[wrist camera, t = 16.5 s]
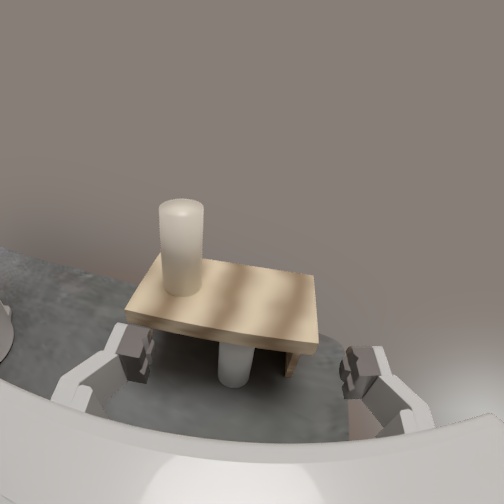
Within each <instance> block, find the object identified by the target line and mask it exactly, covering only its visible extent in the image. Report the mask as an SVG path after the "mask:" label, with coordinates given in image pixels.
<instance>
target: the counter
mask: <svg viewBox="0 0 504 504" xmlns="http://www.w3.org/2000/svg"><path fill="white" fill-rule="evenodd" d="M125 314H126V318H127V322H129V323H133V324H137V325H141V326H146V327H150V328H154V329H159V330H163V331H168V332H172V333H177V334H182V335H186V336H191V337H196V338H202V339H207V340H212V341H218V342H223V343H229V344H235V345H241V346H248V347H254V348H261V349H268V350H275V351H283V352H286V364H285V377H292V375H293V372H294V369H295V367H296V364H297V361H298V359H299V356H300V354H308V355H314V353H315V351H316V349H317V346H318V344H319V341H318V326H317V312H316V299H315V288H314V276H313V275H306V274H300V273H293V272H287V271H280V270H273V269H267V268H260V267H253V266H247V265H240V264H234V263H228V262H222V261H215V260H209V259H203V258H202V285H201V289H200V290H199V291H198V292H197V293H196V294H194V295H192V296H188V297H176V296H173V295H170V294H169V293H167V292H166V291H165V289H164V286H163V275H162V261H161V252H160V254H159V255H158V257H157V258H156V260H155V261H154V263H153V264H152V266H151V268H150V269H149V271H148V272H147V274H146V275H145V277H144V279H143V280H142V282H141V283H140V285H139V286H138V288H137V290H136V291H135V293H134V295H133V296H132V298H131V299H130V301H129V303H128V304H127V306H126V308H125Z"/></svg>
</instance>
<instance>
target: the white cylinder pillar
mask: <svg viewBox="0 0 504 504" xmlns="http://www.w3.org/2000/svg"><path fill="white" fill-rule="evenodd" d="M254 350H255V348H254V347H248V346H241V345H235V344H229V343H223V342H219V359H218V379H219V381H220V382H221V383H222V384H223V385H225V386H226V387H229V388H239V387H242V386H244V385H245V384H246V383H247V382H248V380H249V375H250V370H251V365H252V360H253V355H254Z"/></svg>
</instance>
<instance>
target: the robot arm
mask: <svg viewBox="0 0 504 504" xmlns="http://www.w3.org/2000/svg"><path fill="white" fill-rule="evenodd" d="M11 316H12V311H11V309H10V307H9V306H5V305H3V304H2V302H1V300H0V362H1V361H2V360H3V359H4V357H5V356H6V355H7V353H8V352H9V350H10V348H11V345H12V342H13V337H14V330H13V326H12V323H11ZM152 337H153V332H152V329H149V328H143V327H138V326H133V325H128V324H123V323H117V324H116V325H115V326H114V329H113V331H112V333H111V335H110V337H109V339H108V342H107V344H106V346H105V348H104V351H99V352H97V353H96V354H94V355H93V356H91V357H90V358H89V359H87V360H86V361H84V362H83V363H81V364H80V365H78V366H77V367H75V368H74V369H72V370H71V371H69V372H68V373H66V374H65V375H63V376H62V377H61V378H60V380H59V382H58V384H57V387H56V389H55V391H54V393H53V396H52V398H51V400H48V399H45V398H43V397H40V396H38V395H35V394H33V393H31V392H28V391H26V390H24V389H22V388H19V387H17V386H15V385H13V384H11V383H9V382H6V381H4V380H2V379H0V504H504V422H503V421H502V420H500V419H499V418H498V417H497V416H495V415H494V414H492V413H487V414H484V415H481V416H477V417H474V418H471V419H467V420H464V421H460V422H457V423H453V424H449V425H445V426H440V427H436V428H435V425H434V422H433V419H432V416H431V413H430V409H429V406H428V405H427V404H426V403H425V402H424V401H423V400H422V399H420V397H418V396H417V395H416V394H415V393H414V392H413V391H412V390H411V389H410V388H409V387H408V386H406V385H405V384H404V383H403V382H402V381H401V380H400V379H399V378H398V377H396V375H392V373H391V370H390V367H389V364H388V361H387V358H386V355H385V352H384V350H383V348H382V346H350V347H348V349H347V350H346V355H347V356H345V357H344V358H342V360H341V362H340V367H339V375H340V379H341V380H342V381H343V382H344V384H343V386H342V391H343V396H344V399H362V401H363V402H364V404H365V405H366V406H367V407H368V409H369V410H370V411H371V412H372V414H373V415H374V416H375V417H376V419H377V420H378V421H379V422H380V423H381V425H382V426H383V427H384V428H383V429H382V430H381V431H380V432H379V433H378V434H377V435H376V438H374V439H366V440H356V441H345V442H330V443H305V444H276V443H251V442H236V441H224V440H215V439H206V438H198V437H191V436H184V435H178V434H172V433H166V432H161V431H156V430H151V429H146V428H141V427H137V426H132V425H128V424H124V423H120V422H116V421H113V420H109V419H108V416H107V414H106V413H105V411H104V409H103V408H102V405H103V404H104V403H105V402H106V401H107V400H108V399H109V398H111V397H112V396H113V395H114V394H115V393H116V392H117V391H118V390H119V389H120V388H121V387H122V386H124V385H125V384H126V383H127V382H128V381H133V382H138V383H144V384H147V381H148V377H149V374H150V368H149V365H151V364H152V363H153V360H154V356H155V342H154V341H153V340H152ZM127 380H128V381H127Z"/></svg>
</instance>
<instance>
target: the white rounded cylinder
mask: <svg viewBox="0 0 504 504" xmlns="http://www.w3.org/2000/svg"><path fill="white" fill-rule="evenodd" d="M203 212H204V207H203V205H202V204H201V203H200V202H198V201H195V200H191V199H172V200H168V201H166V202H164V203H162V204H161V205H160V206H159V223H160V244H161V261H162V275H163V286H164V289H165V291H166V292H167V293H169V294H170V295H173V296H176V297H188V296H192V295H194V294H196V293H197V292H198V291H199V290H200V289H201V285H202V241H203V239H202V238H203Z"/></svg>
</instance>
